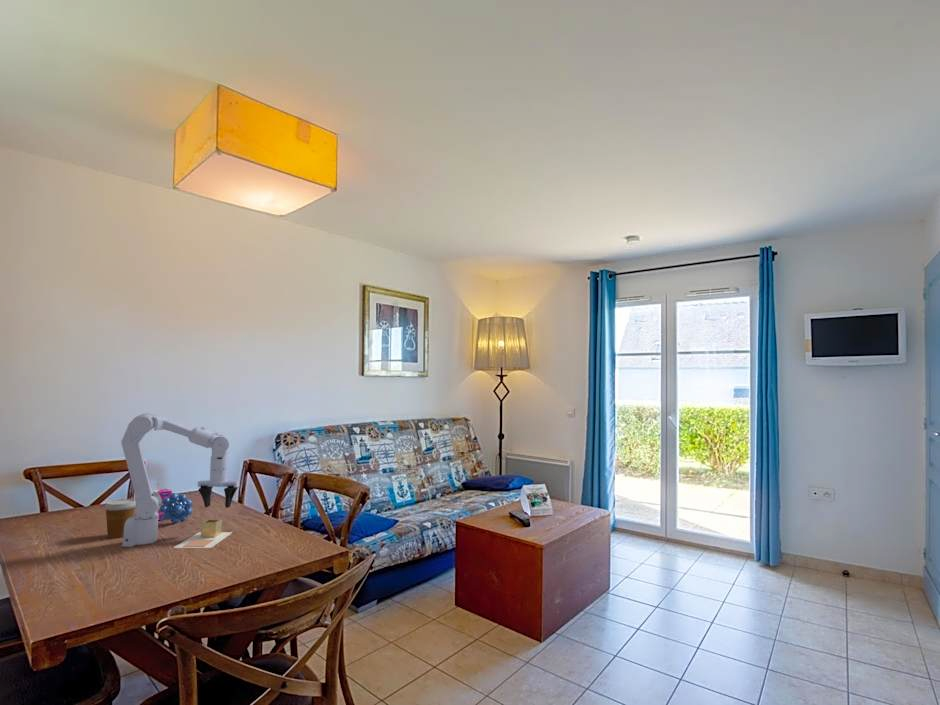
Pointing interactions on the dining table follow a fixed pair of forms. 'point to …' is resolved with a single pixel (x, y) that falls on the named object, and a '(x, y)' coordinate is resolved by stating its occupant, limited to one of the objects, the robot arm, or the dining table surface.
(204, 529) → the sleeve
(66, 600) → the dining table surface
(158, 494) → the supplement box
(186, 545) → the board
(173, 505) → the grapes
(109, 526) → the disposable coffee cup
